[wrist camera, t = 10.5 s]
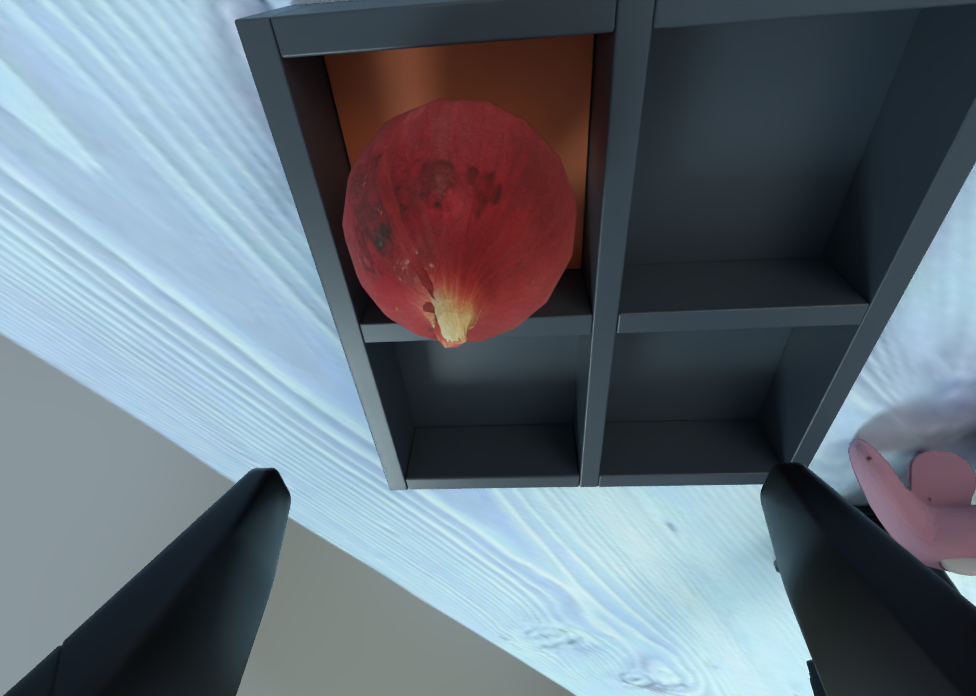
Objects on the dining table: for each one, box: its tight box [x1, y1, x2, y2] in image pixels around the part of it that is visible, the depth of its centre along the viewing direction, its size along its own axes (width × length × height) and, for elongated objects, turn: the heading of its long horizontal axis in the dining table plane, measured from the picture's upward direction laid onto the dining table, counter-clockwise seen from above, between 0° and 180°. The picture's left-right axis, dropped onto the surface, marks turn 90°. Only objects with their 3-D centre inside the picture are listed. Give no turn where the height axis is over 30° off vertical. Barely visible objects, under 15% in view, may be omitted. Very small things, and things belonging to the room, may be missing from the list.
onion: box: [342, 98, 577, 348], centre depth 12 cm, size 6×6×8 cm
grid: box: [235, 0, 976, 490], centre depth 17 cm, size 17×17×4 cm
